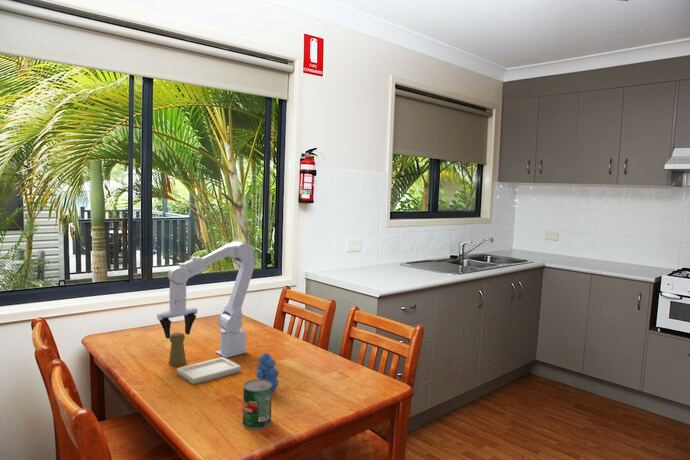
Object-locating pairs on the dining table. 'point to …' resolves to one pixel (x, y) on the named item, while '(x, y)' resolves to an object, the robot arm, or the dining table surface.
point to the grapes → (267, 370)
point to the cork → (177, 349)
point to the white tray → (208, 370)
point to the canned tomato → (257, 404)
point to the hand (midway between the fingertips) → (177, 335)
